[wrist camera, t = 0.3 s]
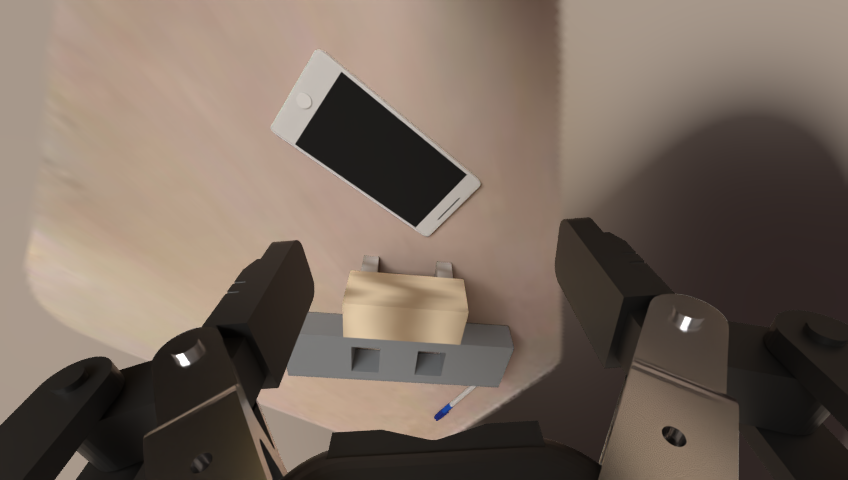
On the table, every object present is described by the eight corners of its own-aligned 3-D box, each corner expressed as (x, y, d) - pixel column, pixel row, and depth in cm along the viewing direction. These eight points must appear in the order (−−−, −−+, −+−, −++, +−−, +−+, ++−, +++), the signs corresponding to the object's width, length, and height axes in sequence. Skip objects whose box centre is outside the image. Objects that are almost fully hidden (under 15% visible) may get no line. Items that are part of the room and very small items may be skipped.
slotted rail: (296, 353, 42) (288, 375, 39) (289, 310, 38) (280, 332, 35) (493, 365, 43) (498, 387, 41) (508, 326, 39) (514, 348, 37)
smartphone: (320, 44, 24) (316, 46, 23) (481, 178, 29) (483, 183, 29) (272, 126, 27) (267, 130, 26) (426, 233, 33) (426, 239, 32)
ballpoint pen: (438, 416, 51) (439, 423, 50) (433, 415, 50) (433, 422, 50) (480, 379, 45) (481, 386, 45) (474, 377, 45) (476, 384, 44)
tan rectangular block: (355, 281, 35) (343, 337, 30) (355, 249, 33) (342, 303, 27) (453, 289, 36) (460, 344, 30) (460, 258, 34) (468, 312, 28)
